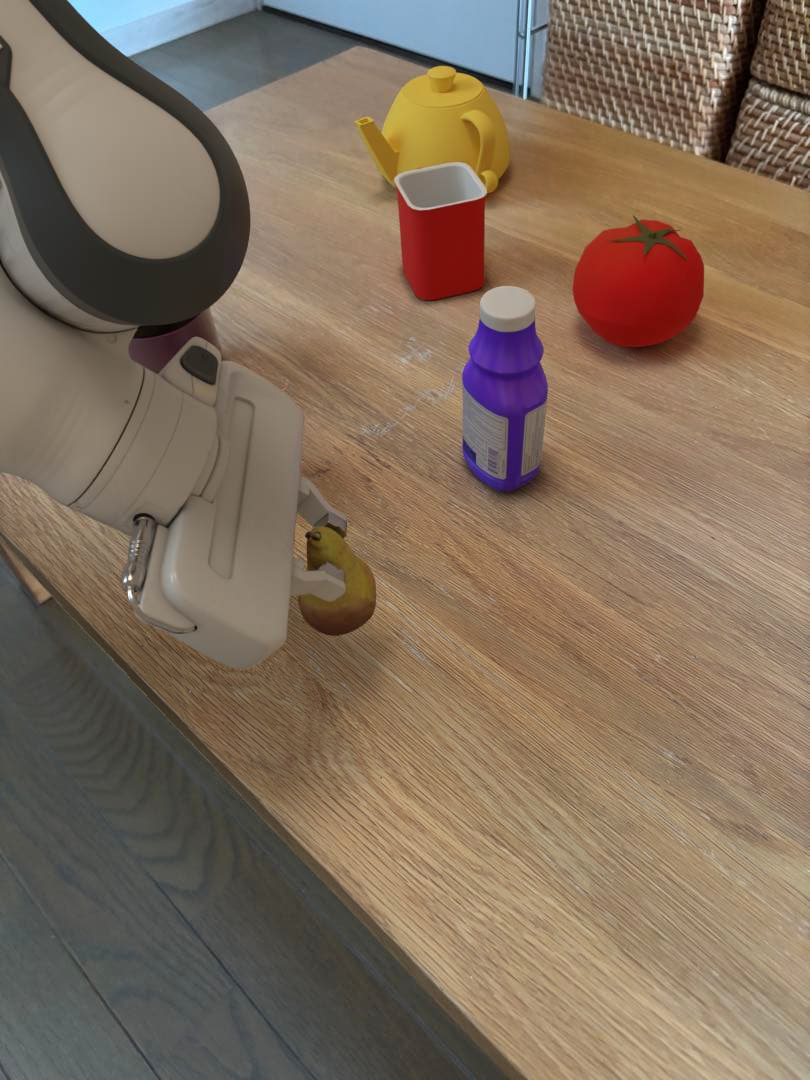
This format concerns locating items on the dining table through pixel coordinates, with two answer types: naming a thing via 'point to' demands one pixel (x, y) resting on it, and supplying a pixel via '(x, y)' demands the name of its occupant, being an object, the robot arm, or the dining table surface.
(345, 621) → the fruit
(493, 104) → the teapot
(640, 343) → the tomato
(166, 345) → the jar
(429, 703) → the dining table surface
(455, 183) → the mug
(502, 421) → the bottle
